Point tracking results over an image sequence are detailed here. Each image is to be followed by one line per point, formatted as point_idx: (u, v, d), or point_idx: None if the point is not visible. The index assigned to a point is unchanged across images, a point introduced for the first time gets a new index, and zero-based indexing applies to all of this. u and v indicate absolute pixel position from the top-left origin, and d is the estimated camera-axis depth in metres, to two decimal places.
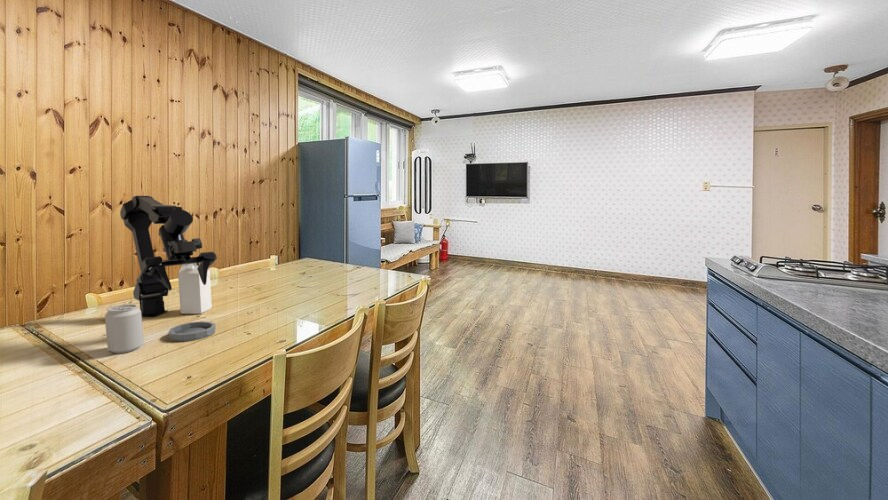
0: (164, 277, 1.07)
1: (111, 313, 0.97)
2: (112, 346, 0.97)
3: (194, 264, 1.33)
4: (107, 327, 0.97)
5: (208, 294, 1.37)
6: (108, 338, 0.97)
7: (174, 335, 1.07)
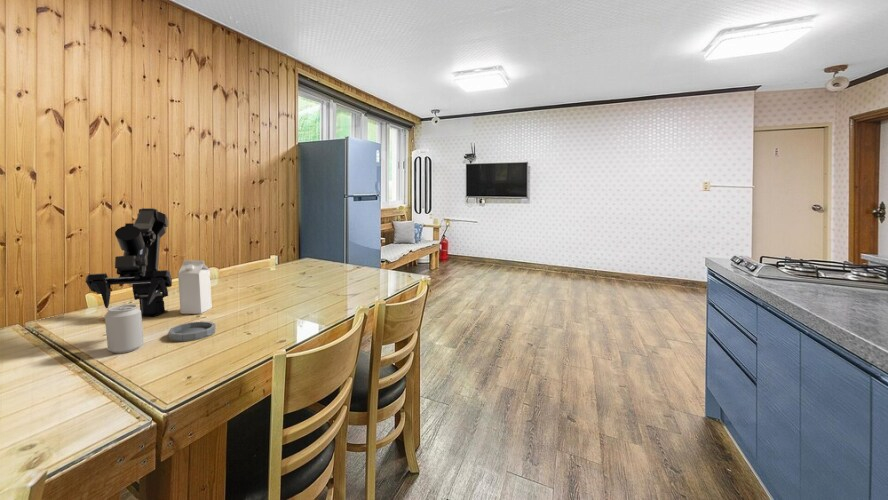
0: (102, 294, 1.02)
1: (111, 313, 0.97)
2: (112, 346, 0.97)
3: (194, 264, 1.33)
4: (107, 327, 0.97)
5: (208, 294, 1.37)
6: (108, 338, 0.97)
7: (174, 335, 1.07)
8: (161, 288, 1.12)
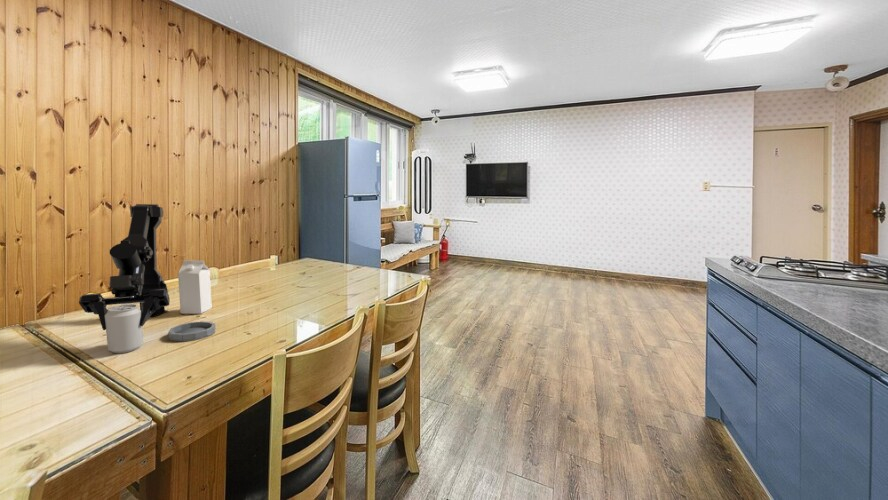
0: (100, 315, 0.98)
1: (111, 313, 0.97)
2: (112, 346, 0.97)
3: (194, 264, 1.33)
4: (107, 327, 0.97)
5: (208, 294, 1.37)
6: (108, 338, 0.97)
7: (174, 335, 1.07)
8: (155, 308, 1.07)
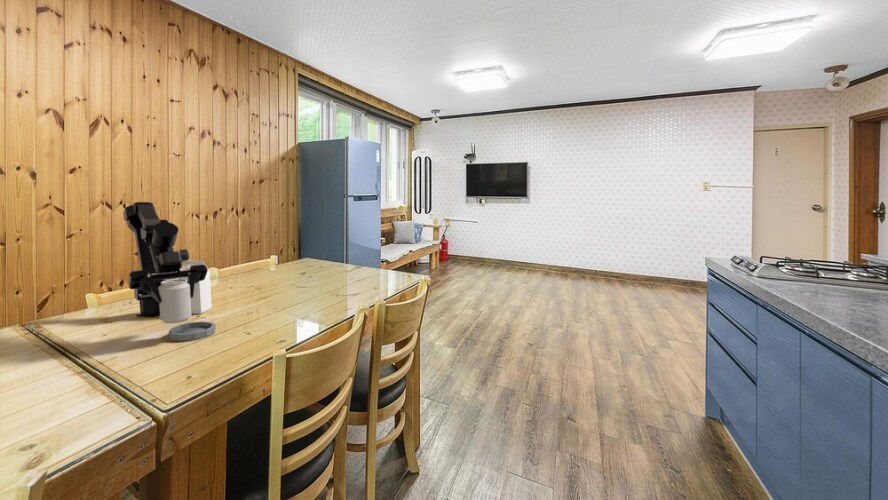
0: (153, 289, 1.04)
1: (168, 286, 1.05)
2: (170, 317, 1.05)
3: (194, 264, 1.33)
4: (164, 299, 1.04)
5: (208, 294, 1.37)
6: (165, 309, 1.05)
7: (174, 335, 1.07)
8: None
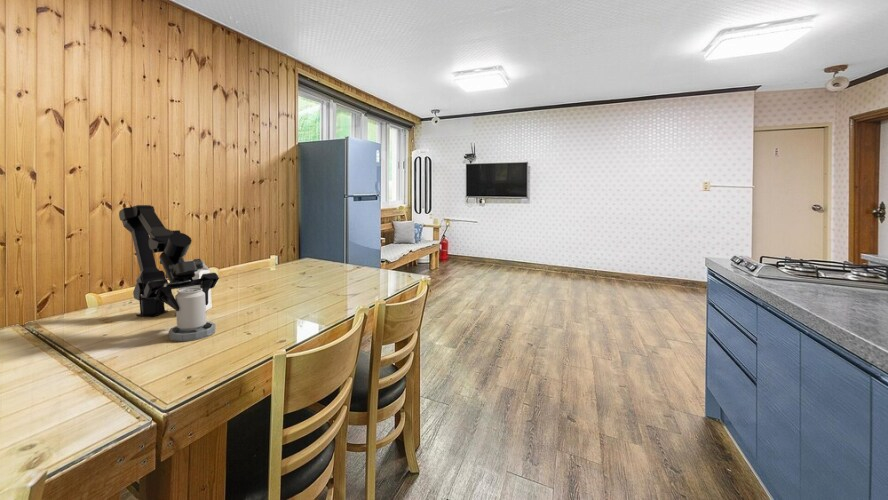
0: (171, 298, 1.08)
1: (187, 294, 1.09)
2: (188, 324, 1.09)
3: None
4: (182, 307, 1.08)
5: (208, 294, 1.37)
6: (183, 317, 1.09)
7: (174, 335, 1.07)
8: None
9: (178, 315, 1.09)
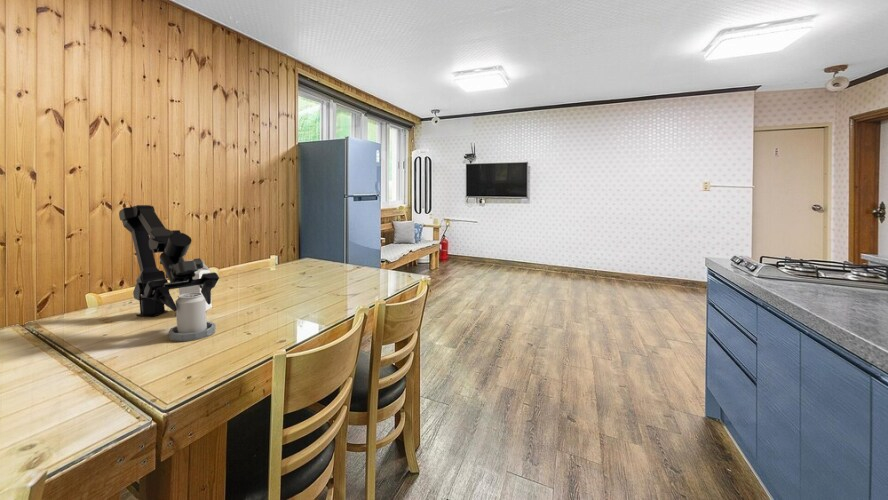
0: (168, 298, 1.07)
1: (187, 299, 1.09)
2: (188, 329, 1.10)
3: None
4: (182, 312, 1.09)
5: None
6: (183, 322, 1.09)
7: (174, 335, 1.07)
8: None
9: (178, 320, 1.09)
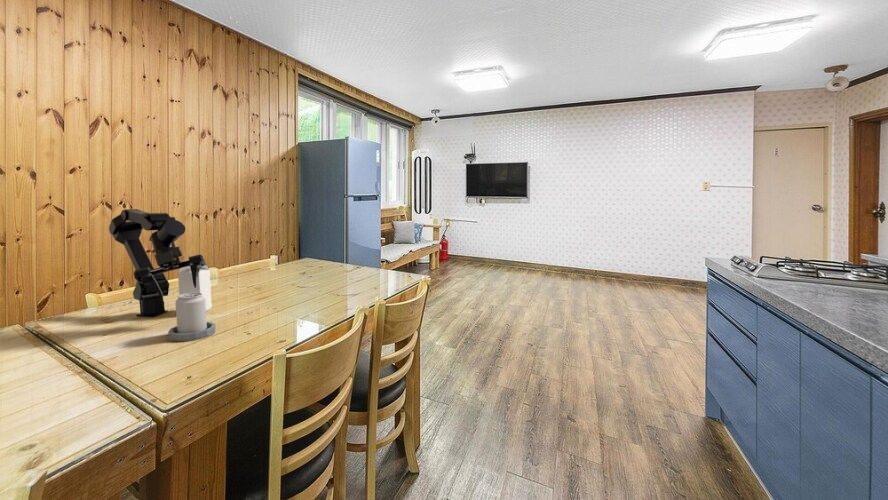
0: (154, 286, 1.16)
1: (187, 299, 1.09)
2: (188, 329, 1.10)
3: None
4: (182, 312, 1.09)
5: (208, 294, 1.37)
6: (183, 322, 1.09)
7: (174, 335, 1.07)
8: (198, 269, 1.25)
9: (178, 320, 1.09)
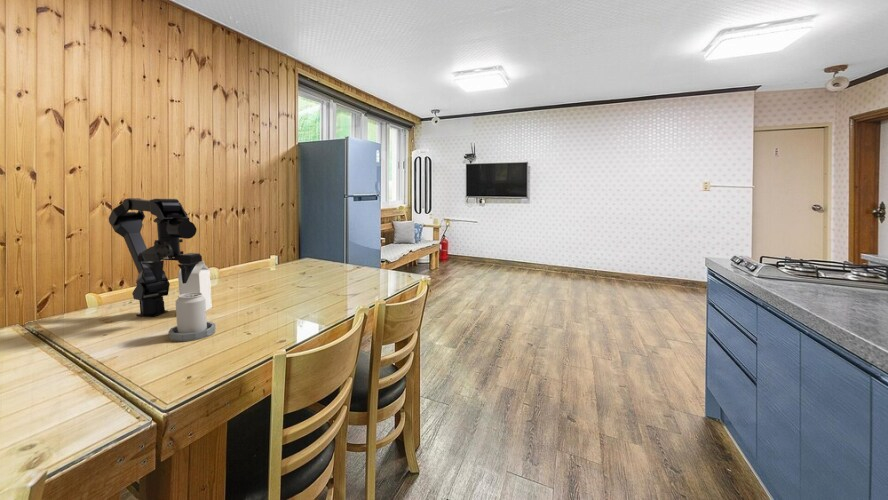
0: (152, 272, 1.23)
1: (187, 299, 1.09)
2: (188, 329, 1.10)
3: None
4: (182, 312, 1.09)
5: (208, 294, 1.37)
6: (183, 322, 1.09)
7: (174, 335, 1.07)
8: (194, 263, 1.25)
9: (178, 320, 1.09)
